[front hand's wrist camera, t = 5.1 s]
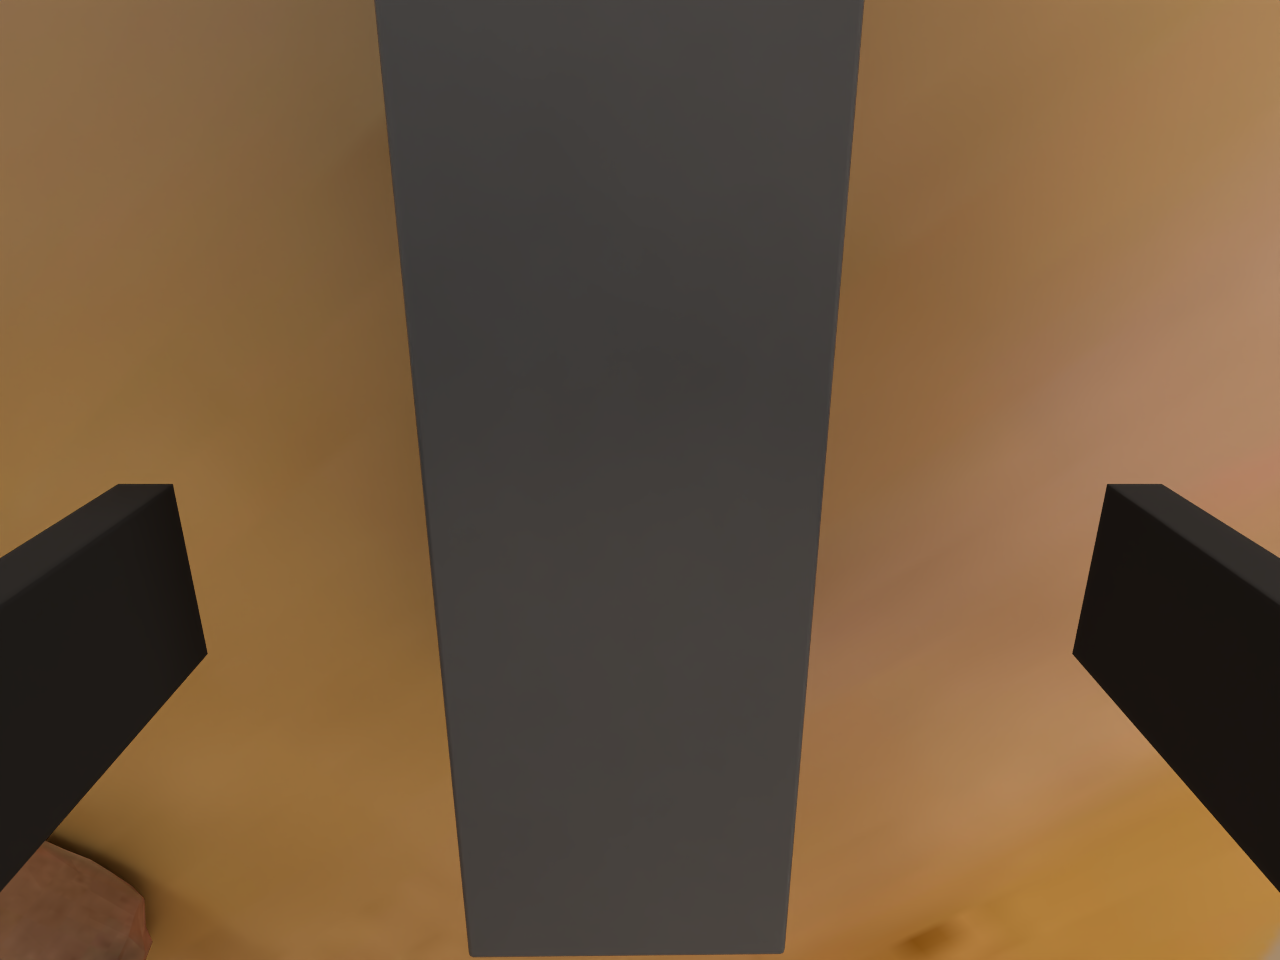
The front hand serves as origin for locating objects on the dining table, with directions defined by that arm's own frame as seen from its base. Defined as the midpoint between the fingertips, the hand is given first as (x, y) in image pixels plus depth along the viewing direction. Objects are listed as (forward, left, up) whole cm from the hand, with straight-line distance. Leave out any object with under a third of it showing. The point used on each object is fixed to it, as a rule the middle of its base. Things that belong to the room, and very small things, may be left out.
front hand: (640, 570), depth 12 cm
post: (+25, +12, -6) cm, 29 cm away
